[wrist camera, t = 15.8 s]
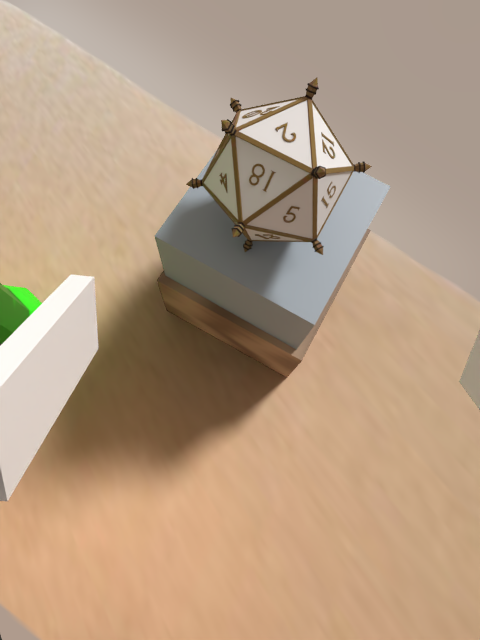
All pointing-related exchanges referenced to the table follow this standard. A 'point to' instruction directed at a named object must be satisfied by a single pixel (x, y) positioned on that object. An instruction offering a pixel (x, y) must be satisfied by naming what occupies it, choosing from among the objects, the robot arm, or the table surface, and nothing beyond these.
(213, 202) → the tower top
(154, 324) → the table surface
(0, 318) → the plastic bottle
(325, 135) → the game die
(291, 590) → the table surface
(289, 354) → the tower base
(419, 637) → the table surface
